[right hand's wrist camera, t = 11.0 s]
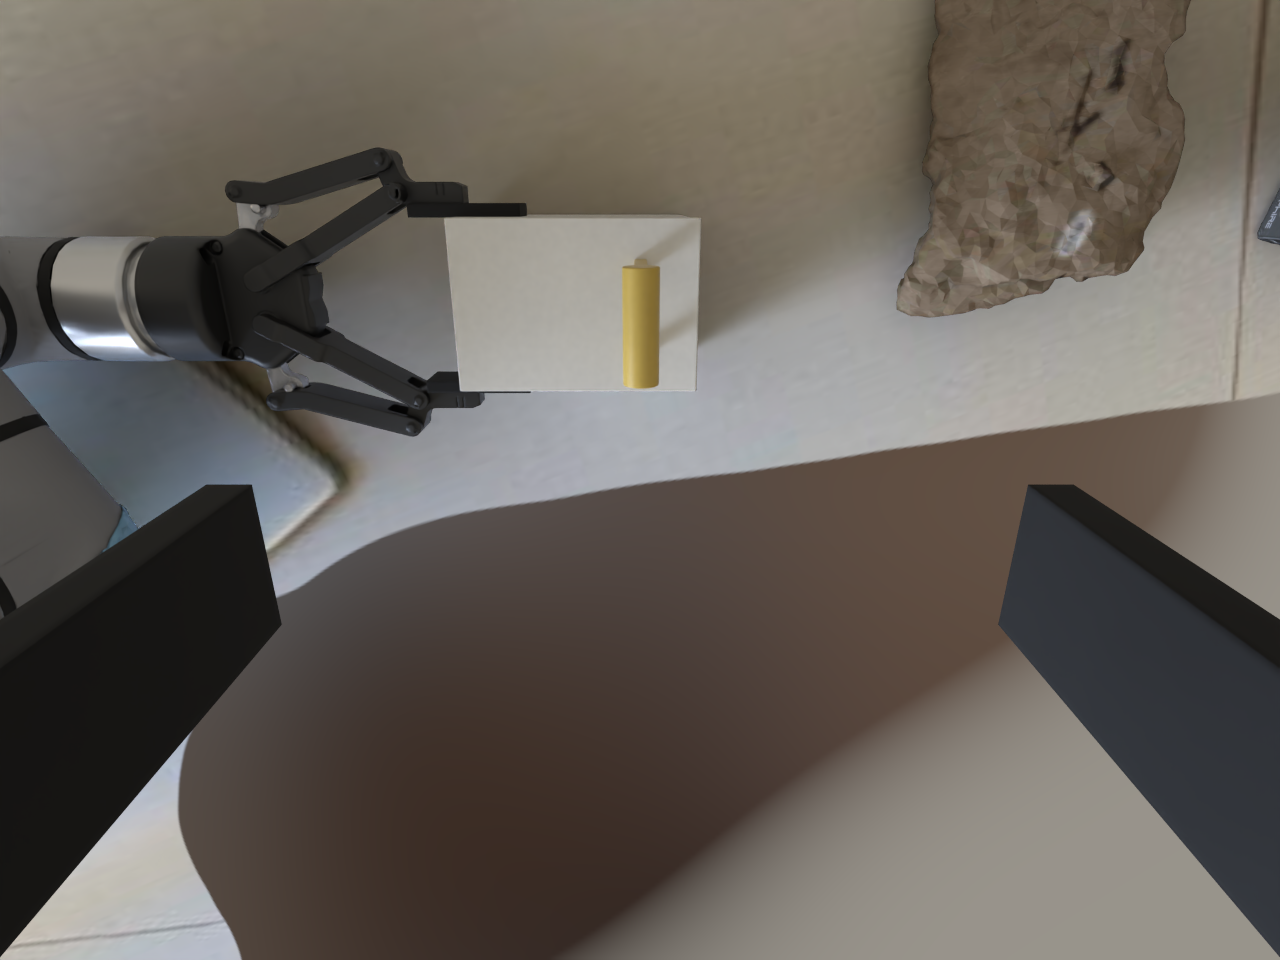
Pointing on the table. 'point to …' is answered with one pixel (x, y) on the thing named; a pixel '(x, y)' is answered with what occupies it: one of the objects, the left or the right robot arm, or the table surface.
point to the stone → (1042, 146)
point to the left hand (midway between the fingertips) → (528, 299)
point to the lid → (575, 302)
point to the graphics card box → (1271, 223)
